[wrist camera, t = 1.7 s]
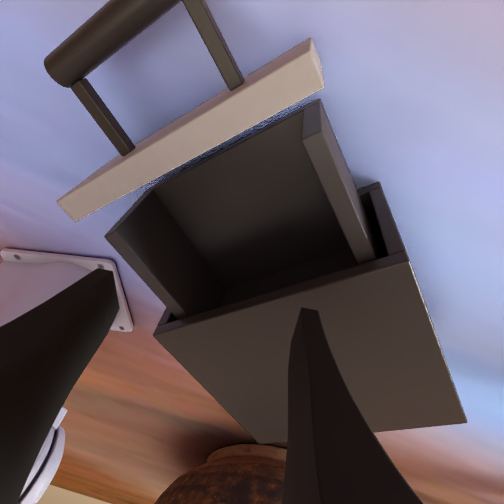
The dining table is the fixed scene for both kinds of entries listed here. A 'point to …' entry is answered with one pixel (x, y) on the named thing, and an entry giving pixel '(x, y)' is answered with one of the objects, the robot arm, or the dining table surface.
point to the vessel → (232, 478)
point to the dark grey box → (340, 339)
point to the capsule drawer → (220, 173)
